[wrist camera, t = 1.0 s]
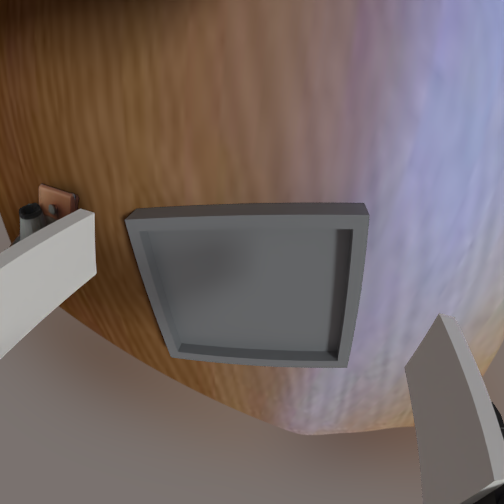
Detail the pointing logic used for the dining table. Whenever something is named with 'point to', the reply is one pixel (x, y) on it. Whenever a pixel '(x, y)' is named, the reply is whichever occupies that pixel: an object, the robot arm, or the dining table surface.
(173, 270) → the dock tray
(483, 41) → the dining table surface
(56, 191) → the electronic device
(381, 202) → the dining table surface
